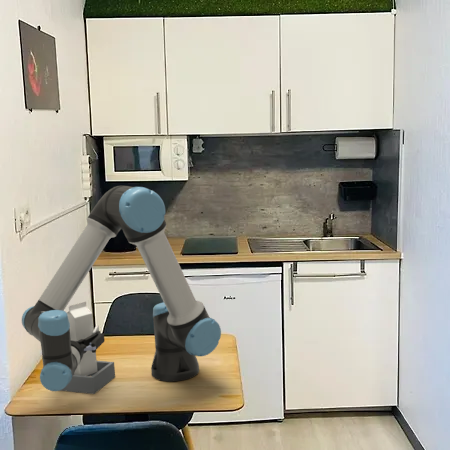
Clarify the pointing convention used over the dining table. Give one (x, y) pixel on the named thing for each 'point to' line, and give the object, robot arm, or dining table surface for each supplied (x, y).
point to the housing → (92, 379)
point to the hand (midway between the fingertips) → (83, 330)
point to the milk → (82, 336)
